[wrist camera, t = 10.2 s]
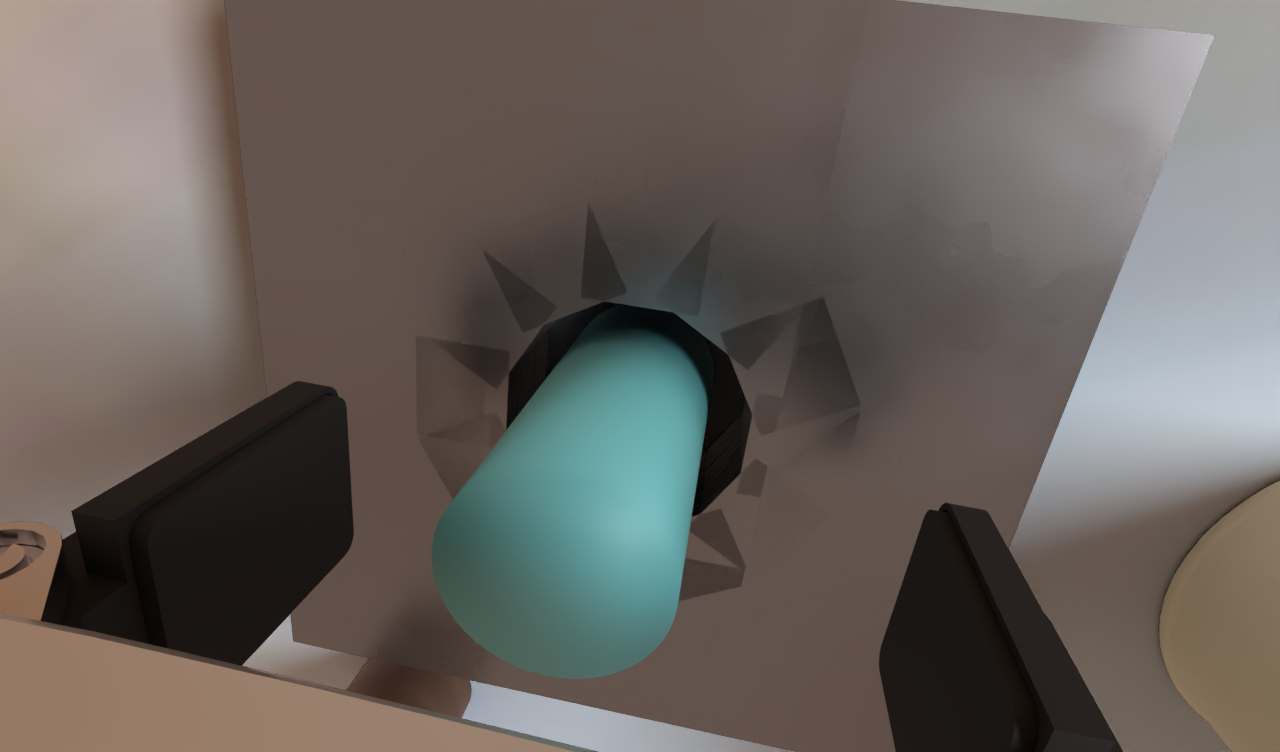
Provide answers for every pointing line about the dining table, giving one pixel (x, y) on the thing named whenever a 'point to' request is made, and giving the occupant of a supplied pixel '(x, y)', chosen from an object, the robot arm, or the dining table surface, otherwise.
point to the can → (1230, 625)
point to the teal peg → (585, 504)
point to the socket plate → (697, 289)
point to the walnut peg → (413, 687)
